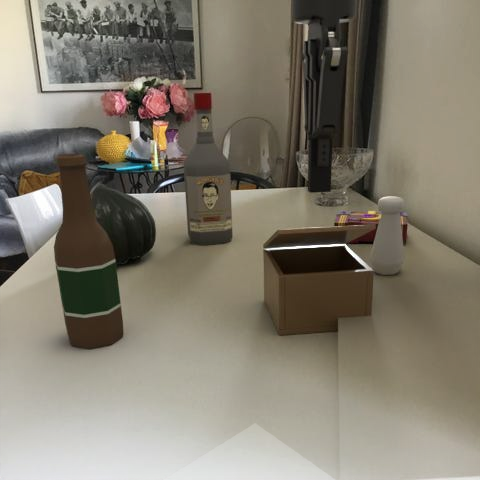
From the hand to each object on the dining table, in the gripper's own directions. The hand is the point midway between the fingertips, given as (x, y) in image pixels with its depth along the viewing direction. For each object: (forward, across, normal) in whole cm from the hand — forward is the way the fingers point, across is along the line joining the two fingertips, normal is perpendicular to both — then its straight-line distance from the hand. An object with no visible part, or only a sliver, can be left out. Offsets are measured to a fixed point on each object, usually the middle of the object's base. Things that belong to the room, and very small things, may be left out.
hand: (319, 191), depth 74 cm
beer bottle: (+18, +1, -31) cm, 36 cm away
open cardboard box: (+18, -2, 0) cm, 18 cm away
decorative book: (+18, -43, +21) cm, 51 cm away
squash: (+18, -37, -31) cm, 52 cm away
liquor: (+18, -49, -12) cm, 54 cm away
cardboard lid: (+7, -2, 0) cm, 7 cm away
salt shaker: (+18, -19, +17) cm, 31 cm away
